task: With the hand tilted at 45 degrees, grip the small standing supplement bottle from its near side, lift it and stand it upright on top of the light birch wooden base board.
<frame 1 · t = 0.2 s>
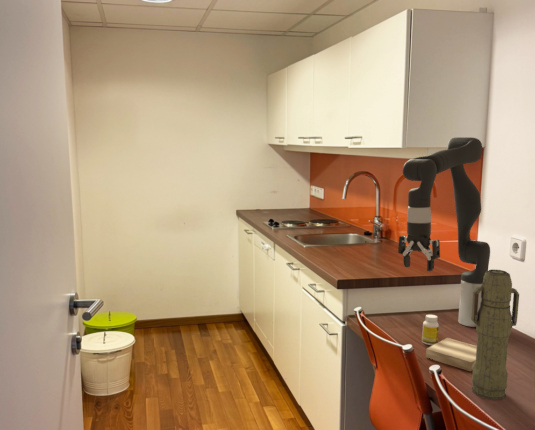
hand: (418, 268, 173), 29 cm above the table, tool pointing down, fingers open, 8 cm apart
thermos: (488, 393, 148), on the table
base board: (457, 357, 172), on the table
supplement bottle: (429, 343, 185), on the table
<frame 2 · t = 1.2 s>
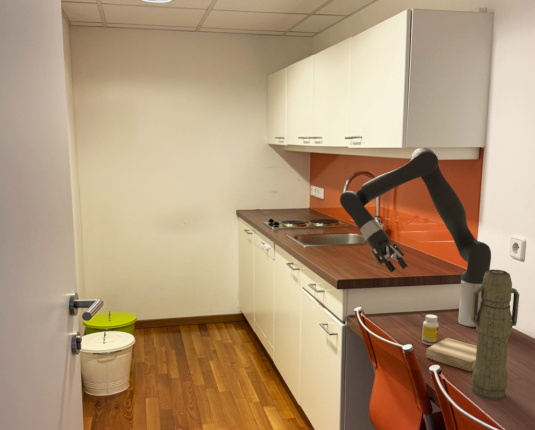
hand: (399, 269, 191), 24 cm above the table, tool tilted 45°, fingers open, 8 cm apart
nothing on the table moved.
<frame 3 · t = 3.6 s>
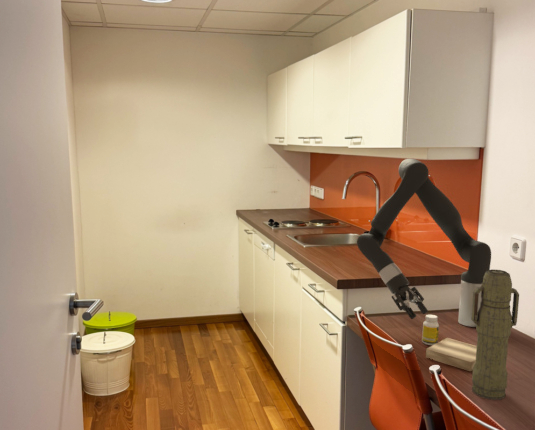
hand: (420, 315, 187), 9 cm above the table, tool tilted 45°, fingers open, 8 cm apart
nothing on the table moved.
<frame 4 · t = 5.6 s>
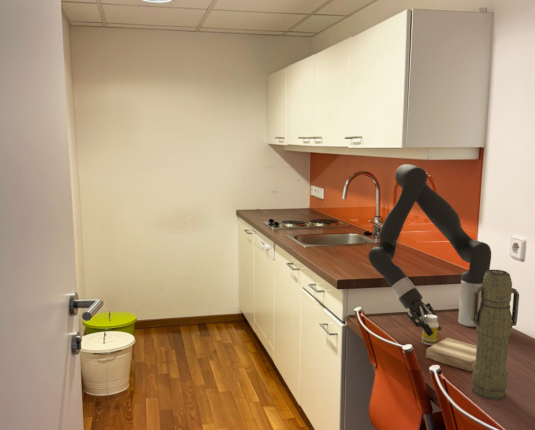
hand: (435, 332, 184), 4 cm above the table, tool tilted 45°, fingers closed on supplement bottle, 5 cm apart
supplement bottle: (429, 343, 185), on the table, touching gripper
everything else where it was.
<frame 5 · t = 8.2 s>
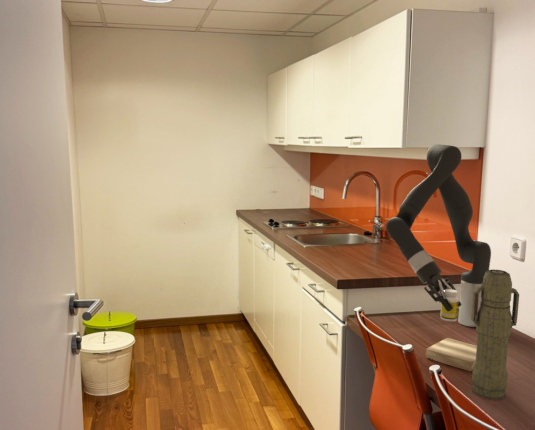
hand: (454, 308, 173), 16 cm above the table, tool tilted 45°, fingers closed on supplement bottle, 5 cm apart
supplement bottle: (448, 319, 175), point 12 cm above the table, touching gripper
everything else where it was.
when the fingers open (8 cm above the table, at t = 10.8 s): supplement bottle drops 1 cm, resting on base board.
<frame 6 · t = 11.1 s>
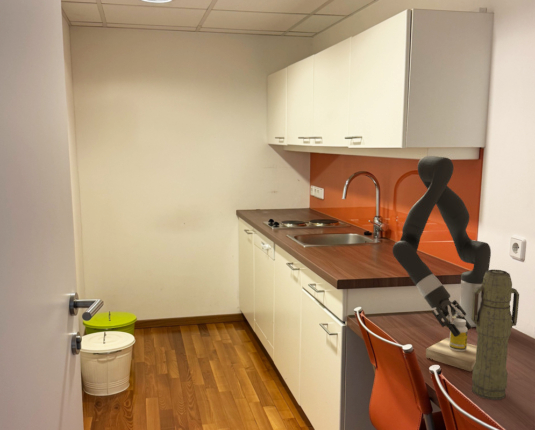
hand: (463, 332, 170), 9 cm above the table, tool tilted 45°, fingers open, 8 cm apart
supplement bottle: (457, 349, 172), point 3 cm above the table, touching base board
everything else where it was.
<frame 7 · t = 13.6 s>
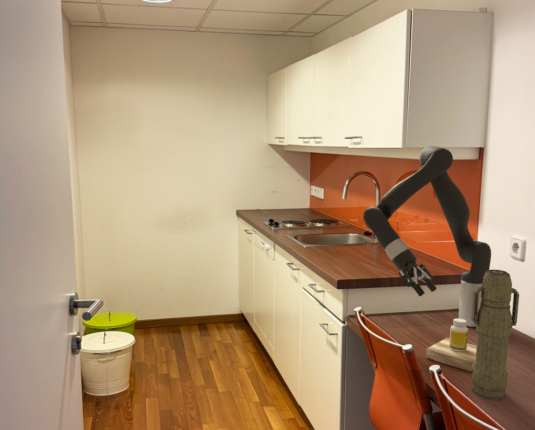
hand: (428, 292, 178), 20 cm above the table, tool tilted 45°, fingers open, 8 cm apart
nothing on the table moved.
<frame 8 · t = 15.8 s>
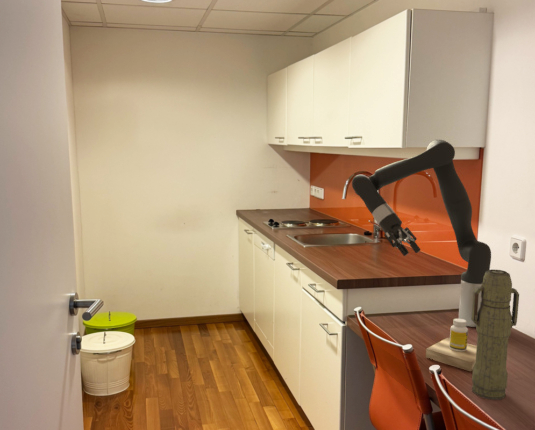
hand: (412, 253, 190), 31 cm above the table, tool tilted 45°, fingers open, 8 cm apart
nothing on the table moved.
at the end: supplement bottle inside the target area on the base board (0.2 cm from its centre), point 2.8 cm above the base board's base; supplement bottle tilted 0°; the gripper is holding nothing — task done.
